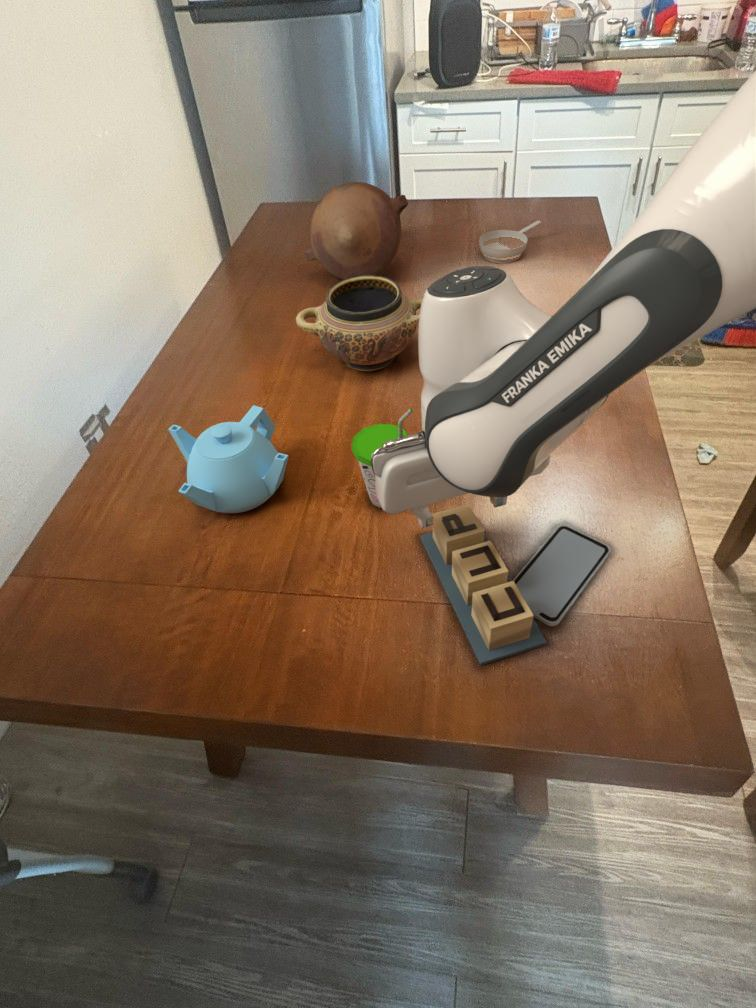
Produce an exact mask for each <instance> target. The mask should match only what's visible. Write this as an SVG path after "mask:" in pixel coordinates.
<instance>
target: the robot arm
mask: <svg viewBox="0 0 756 1008" xmlns="http://www.w3.org/2000/svg"><path fill="white" fill-rule="evenodd" d="M421 299H422V303H421V308H420V309H419V314H420V315H419V324H418V330H417V331H418V332H417V334H418V335H417V339H418V341H417V342H418V345H417V346H418V347H417V348H418V366H419V371H420V374H421V377H422V379H423V387H422V390H421V393H420V416H421V431H420V432H415V433H412V434H408V436H405V437H403V438H400V439H396V440H395V439H393V440H388V441H386V442H384V443H383V446H381V447H379V448H378V449H377V450H376V451H375V452H374V453H372V456H371V464H372V470H373V473H374V474H375V489H376V495H377V498H378V501H379V503H380V505H381V507H382V508H381V510H382V511H384V512H385V513H387V514H388V515H396V514H400V513H403V512H408V511H411V512H412V514H413V515H414V516H416V519H417V523H418V524H419V526H420V528H421V529H425V528H429V527H432V525H433V515H432V514H433V513H432V512H431V509H430V507H429V506H430V505H432V504H436V503H439V502H444V501H447V500H450V499H453V498H457V497H461V496H464V495H468V494H470V495H471V494H472V495H475V496H480V497H488V498H489V500H490V503H491V504H492V506H493V508H499V507H504V506H506V505H507V503H508V497H510V496H511V495H513V494H515V493H516V492H517V491H518V490H519V489H520V488H521V487H522V486H523V484H524V483H525V482H526V481H527V480H529V478H530V477H533V476H537V475H541V474H542V473H543V472H544V471H546V469H547V468H548V467H549V465H550V461H551V455H552V454H553V453H554V452H555V451H556V450H558V448H559V447H561V446H562V445H563V443H565V441H567V440H568V439H569V438H570V437H571V436H572V435H573V434H574V433H576V431H577V430H578V429H579V428H580V427H582V426H583V424H585V423H586V422H587V421H588V420H589V419H590V418H591V417H592V416H593V415H594V414H595V413H596V412H597V411H598V410H599V409H600V408H601V407H602V406H603V405H604V404H605V402H606V401H607V399H608V398H609V396H610V394H612V393H613V392H614V391H616V390H618V389H619V388H620V387H621V386H623V385H624V384H626V383H627V382H629V381H630V380H631V379H633V378H634V377H636V376H637V375H638V374H640V373H641V372H642V371H644V370H645V369H647V368H649V367H651V366H652V365H654V364H655V363H657V362H659V361H660V360H662V359H664V358H666V357H667V356H670V355H671V354H673V353H675V352H677V351H678V350H680V349H683V348H684V347H686V346H688V345H690V344H691V343H693V342H695V341H698V340H699V339H701V338H703V337H705V336H707V335H708V334H710V333H712V332H713V331H716V330H718V329H720V328H721V327H723V326H724V325H727V324H730V323H731V322H733V321H735V320H737V319H738V318H740V317H742V316H744V315H745V314H747V313H749V312H751V311H754V310H756V70H755V71H754V72H753V73H752V74H751V75H750V77H748V79H746V81H745V82H744V83H743V84H742V85H741V86H740V88H738V90H737V91H736V92H735V93H734V94H733V96H732V97H731V98H730V99H729V100H728V101H727V103H726V104H725V105H724V106H723V107H722V109H721V110H720V111H719V112H718V113H717V114H716V116H715V117H714V118H713V120H712V121H711V122H710V123H709V124H708V125H707V126H706V128H705V129H704V130H703V131H702V133H701V134H700V135H699V136H698V138H697V139H696V140H695V142H694V143H692V145H691V147H689V148H688V150H687V152H686V153H685V154H684V156H682V158H681V160H680V161H679V162H678V163H677V164H676V166H675V168H674V169H673V170H672V171H671V173H670V174H669V175H668V177H667V178H666V179H665V181H664V182H663V183H662V185H661V186H660V187H659V188H658V190H657V191H656V193H655V194H654V195H653V196H652V198H650V200H649V201H648V203H647V204H646V206H644V208H643V209H642V211H640V213H639V214H638V216H637V217H636V218H635V220H634V221H633V222H632V224H630V225H629V227H628V228H627V230H626V231H625V232H624V233H623V234H622V236H621V237H620V239H618V241H617V242H616V243H615V245H614V246H613V248H612V249H611V250H610V251H609V252H608V254H607V255H606V256H605V257H604V259H603V260H602V261H601V263H600V264H599V265H598V266H597V268H596V269H595V270H594V271H593V272H592V273H591V275H590V276H589V277H588V278H587V280H586V281H585V282H584V283H583V284H582V286H581V287H580V288H579V289H578V290H577V291H576V292H575V293H574V294H573V295H572V296H571V297H570V298H569V299H568V300H567V301H566V302H565V303H564V304H563V305H562V306H561V307H560V308H559V309H558V310H557V311H555V313H554V314H552V315H551V314H549V313H547V312H546V311H544V310H543V309H541V308H539V307H538V306H537V305H535V304H534V303H532V301H530V300H529V299H528V298H527V297H526V296H525V295H523V293H522V292H521V291H520V290H519V288H518V286H517V285H516V283H515V280H514V279H513V278H512V276H511V275H510V274H509V272H507V271H505V270H503V269H502V268H499V267H495V266H490V265H473V266H467V267H464V268H460V269H455V270H453V271H451V272H449V273H447V274H445V275H442V277H440V278H438V279H436V280H435V281H434V282H433V283H431V284H430V285H429V286H428V287H427V288H426V289H425V290H424V293H423V296H422V298H421ZM428 505H429V506H428Z"/></svg>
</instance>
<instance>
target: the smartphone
mask: <svg viewBox="0 0 756 1008" xmlns="http://www.w3.org/2000/svg"><path fill="white" fill-rule="evenodd" d="M610 554H611V547H610V546H609V545H608V544H606V543H604V542H602V541H600V540H598V539H596V538H594V537H592V536H589V535H588V534H586V533H584V532H581V531H579V530H577V529H575V528H573V527H571V526H570V525H566V524H562V525H559V526H557V527H556V528H555V530H554V531H553V532H552V533H551V534H550V535H549V537H548V538H547V539H546V540H545V541H544V542H543V544H542V545H541V546H540V547H539V548H538V550H537V551H536V552H535V553H534V555H532V556H531V558H530V559H529V560H528V561H527V563H526V564H525V565H524V566H523V567H522V569H520V571H519V572H518V573H517V575H515V577H514V578H513V579H512V580H511V581H514V582H515V584H516V586H517V588H518V589H519V591H520V593H521V594H522V596H523V598H524V600H525V601H526V603H527V605H528V607H529V608H530V610H531V612H532V613H533V615H534V617H533V619H536V620H537V621H539V622H541V623H543V624H544V625H546V626H549V627H555V626H558V625H559V624H560V622H561V621H562V620H563V618H564V617H565V616H566V614H567V613H568V612H569V610H570V609H571V608H572V606H573V605H574V604H575V602H576V601H577V600H578V598H579V597H580V595H581V594H582V592H583V591H584V590H585V588H586V587H587V586H588V585H589V583H590V582H591V580H592V579H593V578H594V576H595V575H596V574H597V572H598V571H599V569H600V568H601V567H602V565H603V564H604V562H605V561H606V559H607V558H608V557H609V556H610Z"/></svg>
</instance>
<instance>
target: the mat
mask: <svg viewBox="0 0 756 1008" xmlns="http://www.w3.org/2000/svg"><path fill="white" fill-rule="evenodd" d="M419 536H420V537H419V539H420V541H421V542H422V545H423V547H424V549H425V551H426V554H427V556H428V558H429V560H430V562H431V564H432V567H433V568H434V570H435V573H436V574H437V577H438V579H439V581H440V584H441V585H442V587H443V590H444V592H445V593H446V595H447V597H448V600H449V602H450V604H451V606H452V609H453V610H454V613H455V614H456V617H457V619H458V621H459V623H460V625H461V628H462V630H463V632H464V634H465V635H466V638H467V640H468V642H469V644H470V646H471V649H472V651H473V654H474V655H475V657H476V659H477V661H478V663H479V665H480V666H483V665H486V664H490V663H493V662H496V661H499V660H502V659H505V658H509V657H512V656H515V655H518V654H521V653H524V652H528V651H531V650H534V649H537V648H540V647H543V646H546V645H547V639H546V638H545V636H544V634H543V633H542V631H541V629H540V627H539V626H538V624H537V622H536V620H534V619H535V618H533V622H532V627H531V632H530V637H529V638H527V639H524V640H521V641H518V642H514V643H511V644H508V645H505V646H502V647H499V648H495V649H492V650H488V648H487V646H486V644H485V642H484V640H483V638H482V636H481V634H480V632H479V630H478V628H477V626H476V624H475V622H474V620H473V618H472V616H471V613H472V604H470V605H467V604H466V602H465V600H464V598H463V596H462V594H461V592H460V590H459V588H458V586H457V584H456V582H455V580H454V578H453V576H452V563H451V564H447V565H446V563H445V561H444V559H443V557H442V555H441V553H440V551H439V549H438V547H437V545H436V543H435V541H434V539H433V531H430V532H427V533H424V534H420V535H419ZM487 541H489V539H488V538H487V536H486V535H485V534H484V542H487ZM511 581H512V580H511V577H510V576H509V575H508V578H507V582H511Z"/></svg>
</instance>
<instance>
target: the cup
mask: <svg viewBox="0 0 756 1008" xmlns="http://www.w3.org/2000/svg"><path fill="white" fill-rule="evenodd" d="M413 412H414V410H413V409H412V408H411V407H410V408H409V409H408V410H407V411H406V412H405V413H404V414H403V415H402V416H400V418H398V421H397V425H396V424H392V423H375V424H372V425H369V426H366V427H363V428H362V429H360V430H359V431H358V432H357V433H356V434H355V435H354V436H353V437H352V441H351V452H352V454H353V455H354V457H355V458H356V460H357V463H358V465H359V469H360V472H361V475H362V478H363V481H364V484H365V488H366V491H367V495H368V497H369V500H370V502H371V504H372V505H373V506H375V507H377V508H379V509H382V507H381V505H380V503H379V501H378V498H377V495H376V489H375V474H374V473H373V470H372V464H371V456H372V453H374V452H375V451H376V450H377V449H378V448H379V447H381V446H383V443H384V442H386V441H388V440H393V439H395V440H396V439H400V438H403V437H405V436H408V435H409V434H408V432H407V431H406V430H405V429H404V427H403V423H404V421H405V420H406V419H407V418H408V417H409V416H410V415H411V414H412V413H413Z"/></svg>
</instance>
